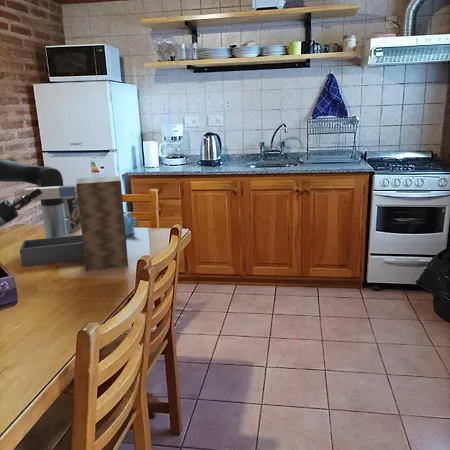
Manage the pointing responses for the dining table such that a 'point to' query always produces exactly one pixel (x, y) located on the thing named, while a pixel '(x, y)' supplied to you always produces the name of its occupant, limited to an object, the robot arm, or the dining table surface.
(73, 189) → the spaghetti box
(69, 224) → the coffee box
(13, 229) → the dining table surface
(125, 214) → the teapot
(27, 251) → the tray
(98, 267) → the brown zigzag patterned box
